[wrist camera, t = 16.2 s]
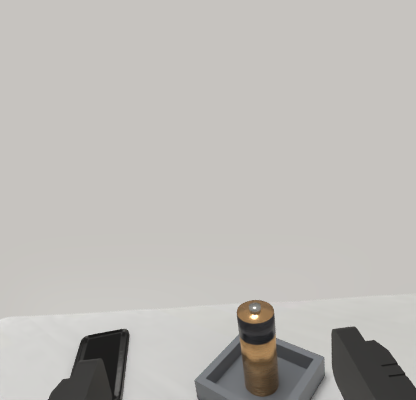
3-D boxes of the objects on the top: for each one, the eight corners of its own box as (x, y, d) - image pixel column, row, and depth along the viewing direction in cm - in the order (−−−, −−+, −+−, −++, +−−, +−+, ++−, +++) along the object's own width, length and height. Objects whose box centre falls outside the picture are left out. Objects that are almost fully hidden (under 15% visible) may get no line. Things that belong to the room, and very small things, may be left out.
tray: (197, 398, 47) (194, 380, 46) (248, 342, 55) (246, 326, 54) (280, 448, 39) (279, 428, 38) (324, 375, 48) (324, 357, 47)
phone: (128, 327, 61) (120, 400, 47) (130, 333, 62) (121, 407, 47) (81, 336, 60) (58, 413, 46) (83, 342, 61) (60, 420, 47)
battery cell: (238, 386, 47) (228, 310, 43) (256, 364, 50) (249, 291, 46) (268, 402, 44) (261, 322, 40) (285, 378, 47) (280, 301, 43)
